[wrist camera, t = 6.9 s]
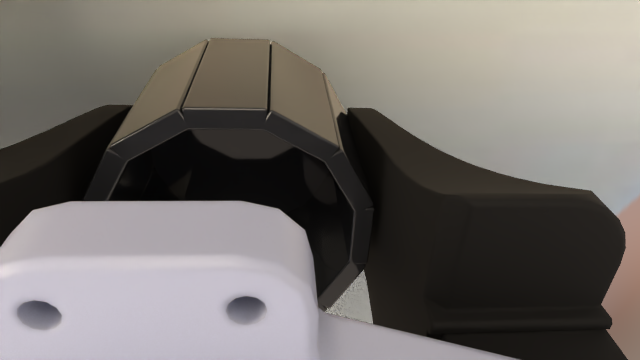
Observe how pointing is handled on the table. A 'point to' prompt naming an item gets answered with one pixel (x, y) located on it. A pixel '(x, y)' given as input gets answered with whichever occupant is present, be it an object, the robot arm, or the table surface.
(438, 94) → the table surface
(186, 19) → the table surface
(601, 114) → the table surface
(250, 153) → the dark grey cup
